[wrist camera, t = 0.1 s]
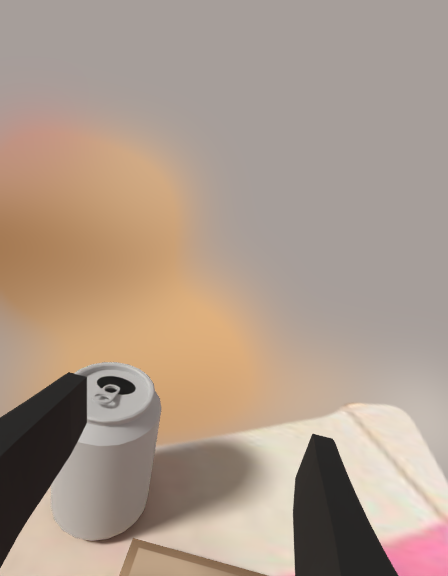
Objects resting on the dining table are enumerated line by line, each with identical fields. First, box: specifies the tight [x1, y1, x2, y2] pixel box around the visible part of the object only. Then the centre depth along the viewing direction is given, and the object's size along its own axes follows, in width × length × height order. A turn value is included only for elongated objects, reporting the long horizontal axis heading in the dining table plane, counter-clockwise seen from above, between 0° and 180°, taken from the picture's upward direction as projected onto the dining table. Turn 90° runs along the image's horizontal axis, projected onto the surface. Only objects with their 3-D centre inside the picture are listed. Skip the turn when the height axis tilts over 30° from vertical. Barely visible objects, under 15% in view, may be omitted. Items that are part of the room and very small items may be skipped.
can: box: [51, 362, 161, 541], centre depth 30 cm, size 8×8×12 cm
